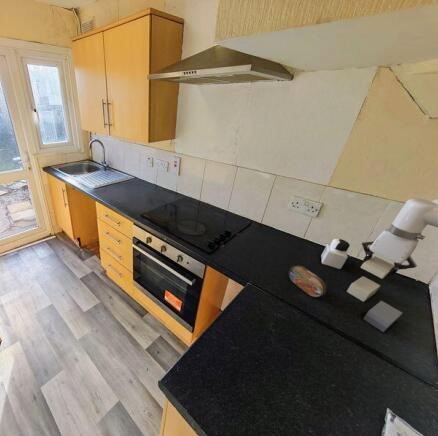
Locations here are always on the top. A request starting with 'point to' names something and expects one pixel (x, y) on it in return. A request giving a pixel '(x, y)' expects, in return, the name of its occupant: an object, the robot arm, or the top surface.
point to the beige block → (363, 288)
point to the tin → (307, 281)
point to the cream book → (377, 266)
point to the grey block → (382, 316)
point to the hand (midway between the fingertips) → (376, 268)
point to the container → (335, 253)
